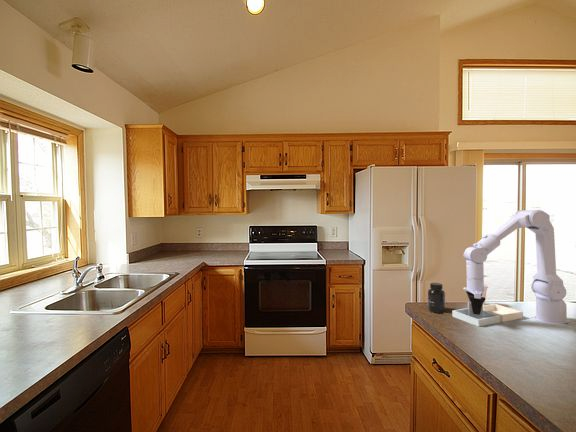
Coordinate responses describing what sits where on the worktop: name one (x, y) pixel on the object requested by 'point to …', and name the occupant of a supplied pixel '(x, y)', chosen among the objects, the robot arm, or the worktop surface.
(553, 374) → the worktop surface
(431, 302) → the supplement bottle
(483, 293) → the smoothie
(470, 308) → the stone block
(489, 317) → the bin
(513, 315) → the bin
